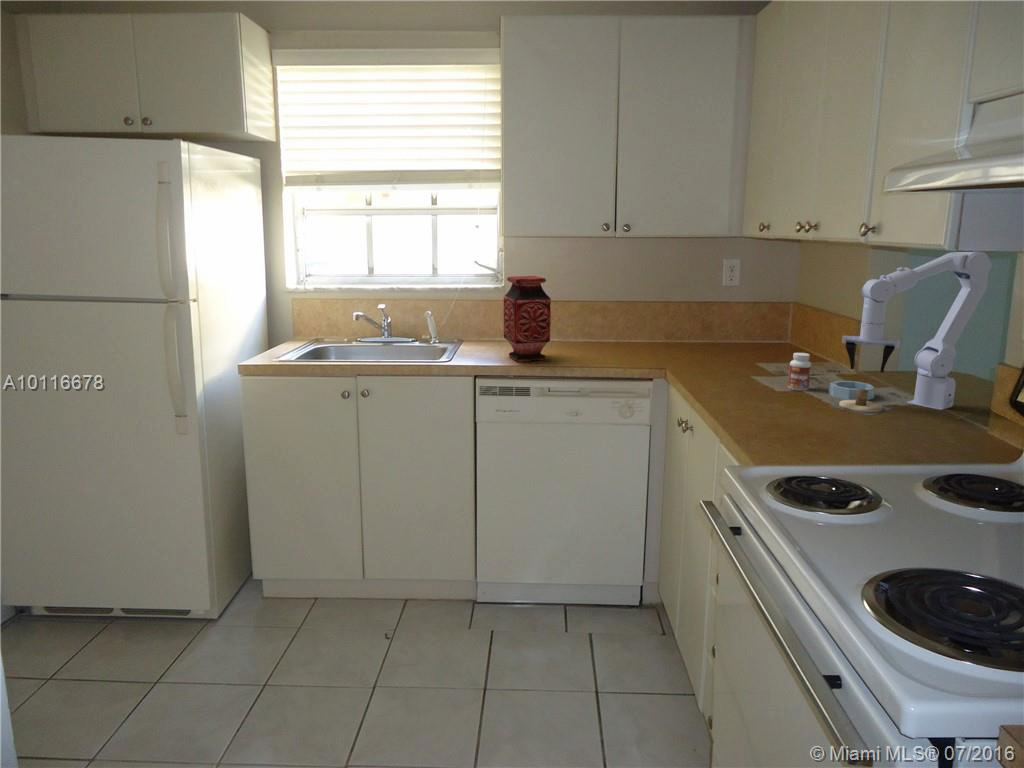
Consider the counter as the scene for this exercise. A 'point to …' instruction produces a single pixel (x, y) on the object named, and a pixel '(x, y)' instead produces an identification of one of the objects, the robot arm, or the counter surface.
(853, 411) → the mat
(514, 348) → the vase
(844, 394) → the bowl
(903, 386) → the counter surface
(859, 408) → the lid
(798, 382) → the pill bottle
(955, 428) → the counter surface
